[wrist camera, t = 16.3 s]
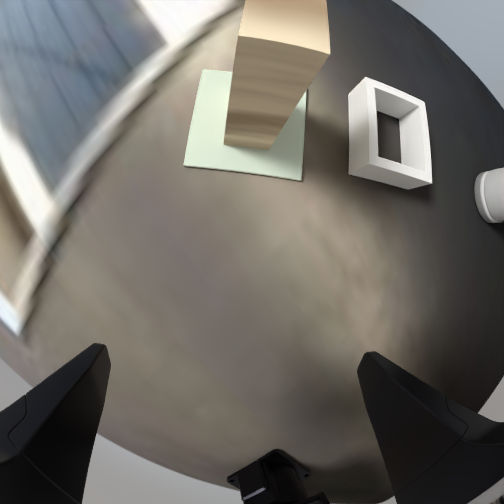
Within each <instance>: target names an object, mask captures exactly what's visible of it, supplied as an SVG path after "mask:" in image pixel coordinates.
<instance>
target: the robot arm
mask: <svg viewBox="0 0 504 504" xmlns="http://www.w3.org/2000/svg"><path fill="white" fill-rule="evenodd" d="M110 369H111V362H110V358H109V354H108V350H107V347H106V345H104V344H99V343H94V344H92V345H91V346H89V347H88V348H87V349H85V350H84V351H82V352H81V353H80V354H78V355H77V356H76V357H74V358H73V359H72V360H70V361H69V362H67V363H66V364H65V365H63V366H62V367H61V368H59V369H58V370H57V371H55V372H54V373H53V374H51V375H50V376H49V377H47V378H46V379H45V380H43V381H42V382H41V383H39V384H38V385H37V386H35V387H34V388H33V389H32V390H30V391H29V392H27V393H26V395H24V396H22V397H21V398H20V399H18V400H17V401H15V402H14V403H13V404H11V405H10V406H9V407H7V408H6V409H4V410H2V411H1V412H0V504H82V499H83V494H84V488H85V482H86V477H87V472H88V467H89V463H90V458H91V454H92V450H93V445H94V441H95V437H96V433H97V429H98V426H99V422H100V418H101V415H102V411H103V407H104V402H105V396H106V390H107V385H108V379H109V374H110ZM357 374H358V378H359V382H360V386H361V390H362V394H363V398H364V403H365V406H366V409H367V412H368V415H369V418H370V421H371V424H372V426H373V429H374V432H375V435H376V438H377V441H378V444H379V447H380V450H381V453H382V456H383V459H384V462H385V465H386V468H387V472H388V475H389V478H390V481H391V485H392V488H393V491H394V494H395V498H396V502H397V504H504V422H495V421H492V420H490V419H488V418H486V417H484V416H482V415H480V414H478V413H476V412H474V411H472V410H470V409H468V408H466V407H464V406H462V405H460V404H458V403H457V402H455V401H453V400H452V399H450V398H449V397H447V396H444V394H442V393H440V392H439V391H437V390H436V389H434V388H432V387H431V386H429V385H428V384H426V383H424V382H423V381H421V380H420V379H418V378H417V377H415V376H413V375H412V374H410V373H409V372H407V371H405V370H404V369H402V368H401V367H399V366H398V365H396V364H394V363H393V362H391V361H390V360H388V359H387V358H385V357H384V356H382V355H380V354H379V353H377V352H375V351H373V352H366V353H365V354H364V355H363V358H362V360H361V362H360V364H359V366H358V370H357ZM274 454H276V455H274ZM310 476H311V473H310V471H309V470H307V469H305V468H304V467H302V466H301V465H299V464H298V463H296V462H295V461H293V460H292V459H290V458H289V457H287V456H286V455H284V454H283V453H282V452H280V451H279V450H272V451H271V452H269V453H267V454H266V455H264V456H263V457H261V458H259V459H258V460H256V461H255V462H253V463H251V464H250V465H248V466H246V467H244V468H243V469H241V470H239V471H237V472H236V473H234V474H232V475H230V476H228V477H227V482H228V483H230V484H231V485H233V486H235V487H237V488H239V489H240V493H241V499H242V501H243V503H244V504H330V503H329V501H328V500H327V498H326V496H325V494H324V493H323V492H321V493H319V494H317V495H316V496H313V497H310V498H308V495H307V493H306V491H305V488H304V486H303V484H302V481H304V480H305V479H307V478H309V477H310Z"/></svg>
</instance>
